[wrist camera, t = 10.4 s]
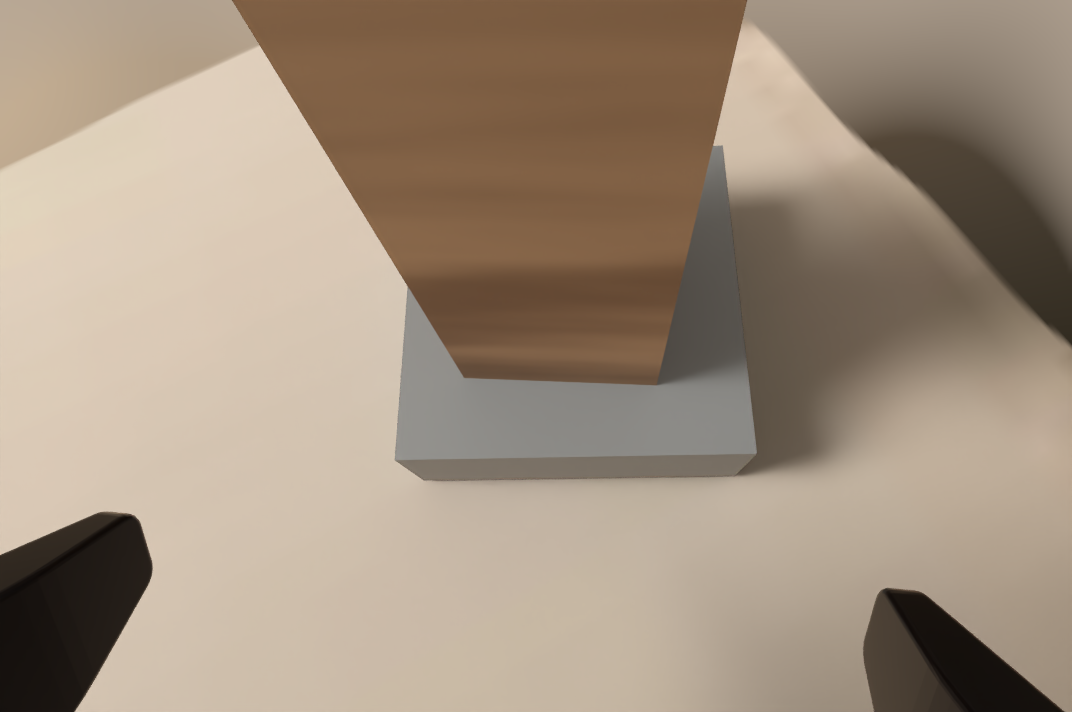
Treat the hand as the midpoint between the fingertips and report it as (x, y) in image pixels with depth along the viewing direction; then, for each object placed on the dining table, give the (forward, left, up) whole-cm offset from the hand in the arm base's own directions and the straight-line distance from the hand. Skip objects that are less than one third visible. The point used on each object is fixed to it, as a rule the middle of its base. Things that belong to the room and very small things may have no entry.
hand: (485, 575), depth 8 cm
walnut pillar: (+8, -1, -8) cm, 11 cm away
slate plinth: (+8, -1, -11) cm, 14 cm away
